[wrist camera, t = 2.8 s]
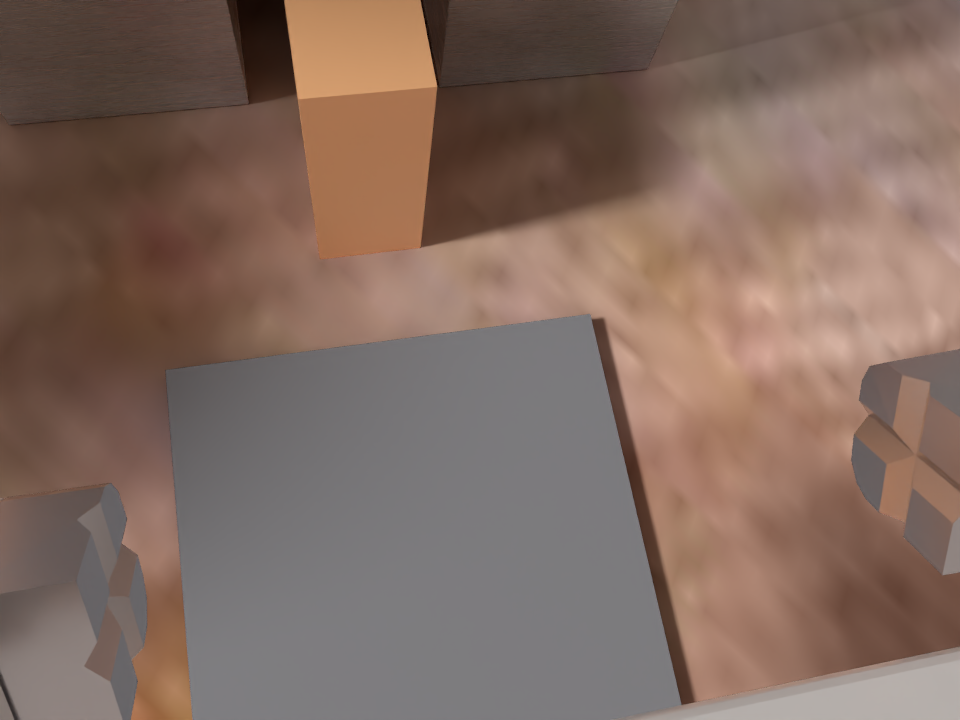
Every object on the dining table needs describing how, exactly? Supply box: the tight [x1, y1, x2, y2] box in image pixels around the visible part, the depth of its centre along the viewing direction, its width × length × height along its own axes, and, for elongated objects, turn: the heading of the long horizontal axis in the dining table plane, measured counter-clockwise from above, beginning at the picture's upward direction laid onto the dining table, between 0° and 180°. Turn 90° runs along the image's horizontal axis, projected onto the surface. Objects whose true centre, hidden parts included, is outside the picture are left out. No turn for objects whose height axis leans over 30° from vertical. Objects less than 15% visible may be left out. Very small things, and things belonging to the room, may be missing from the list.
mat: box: [165, 314, 681, 720], centre depth 24 cm, size 12×12×1 cm
